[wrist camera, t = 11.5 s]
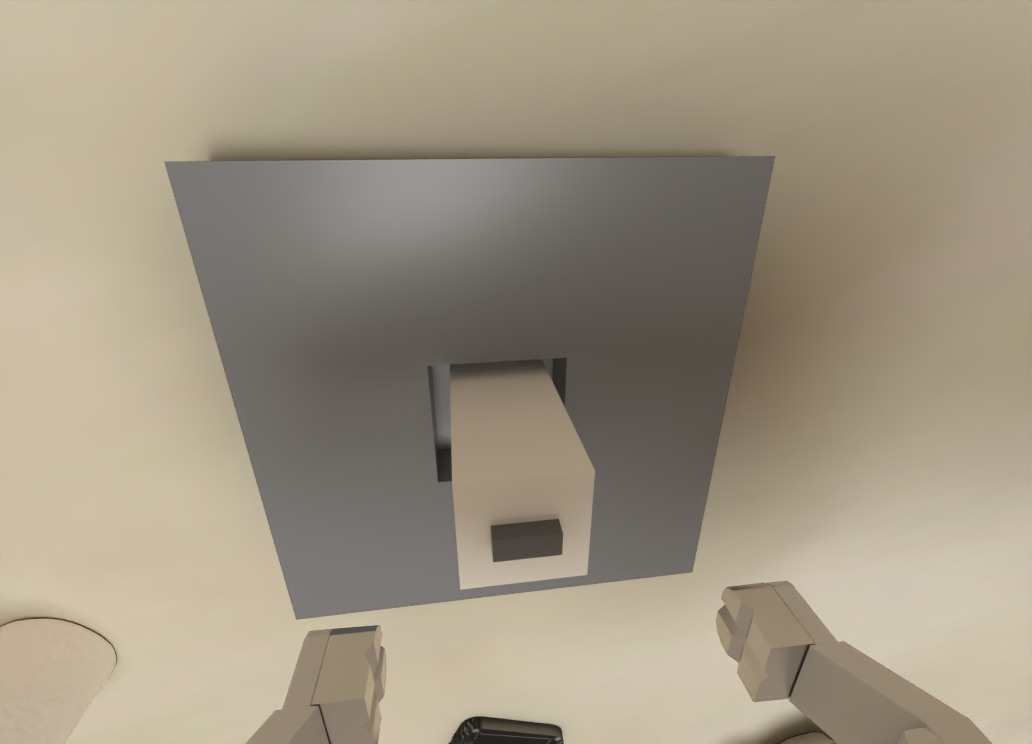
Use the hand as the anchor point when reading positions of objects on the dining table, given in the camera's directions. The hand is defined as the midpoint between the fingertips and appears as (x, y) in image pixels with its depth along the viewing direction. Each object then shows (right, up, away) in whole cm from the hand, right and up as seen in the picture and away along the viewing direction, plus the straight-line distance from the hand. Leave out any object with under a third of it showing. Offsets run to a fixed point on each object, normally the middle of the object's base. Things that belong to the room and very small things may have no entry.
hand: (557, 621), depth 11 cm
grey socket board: (-2, +5, +11) cm, 13 cm away
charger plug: (-2, +5, +11) cm, 12 cm away
